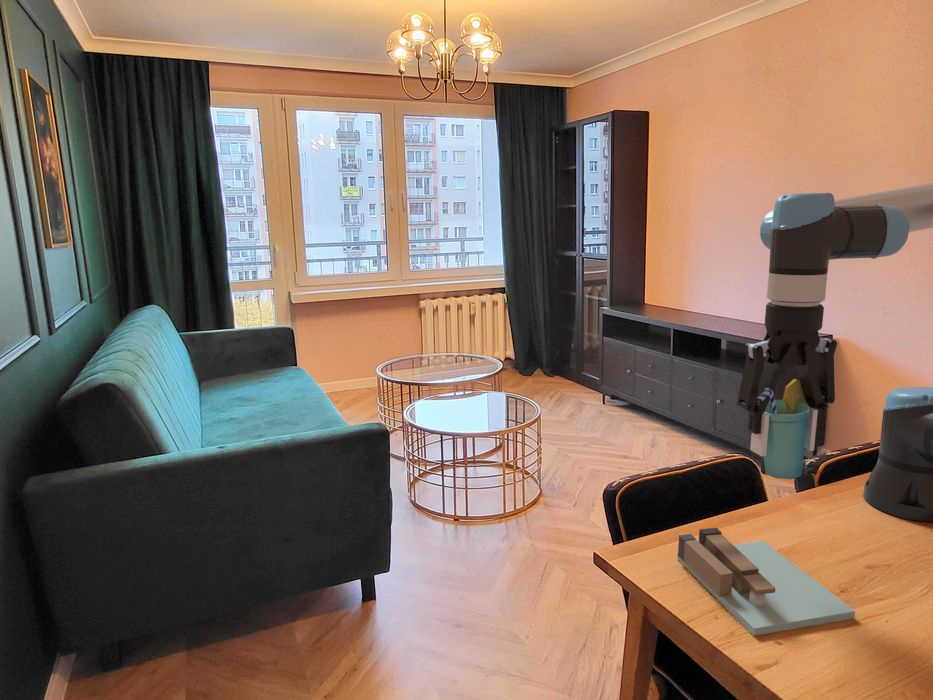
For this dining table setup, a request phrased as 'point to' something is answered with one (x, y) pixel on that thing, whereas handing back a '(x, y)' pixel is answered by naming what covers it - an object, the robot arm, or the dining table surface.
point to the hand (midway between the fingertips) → (781, 450)
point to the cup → (786, 431)
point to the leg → (735, 562)
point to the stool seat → (772, 612)
